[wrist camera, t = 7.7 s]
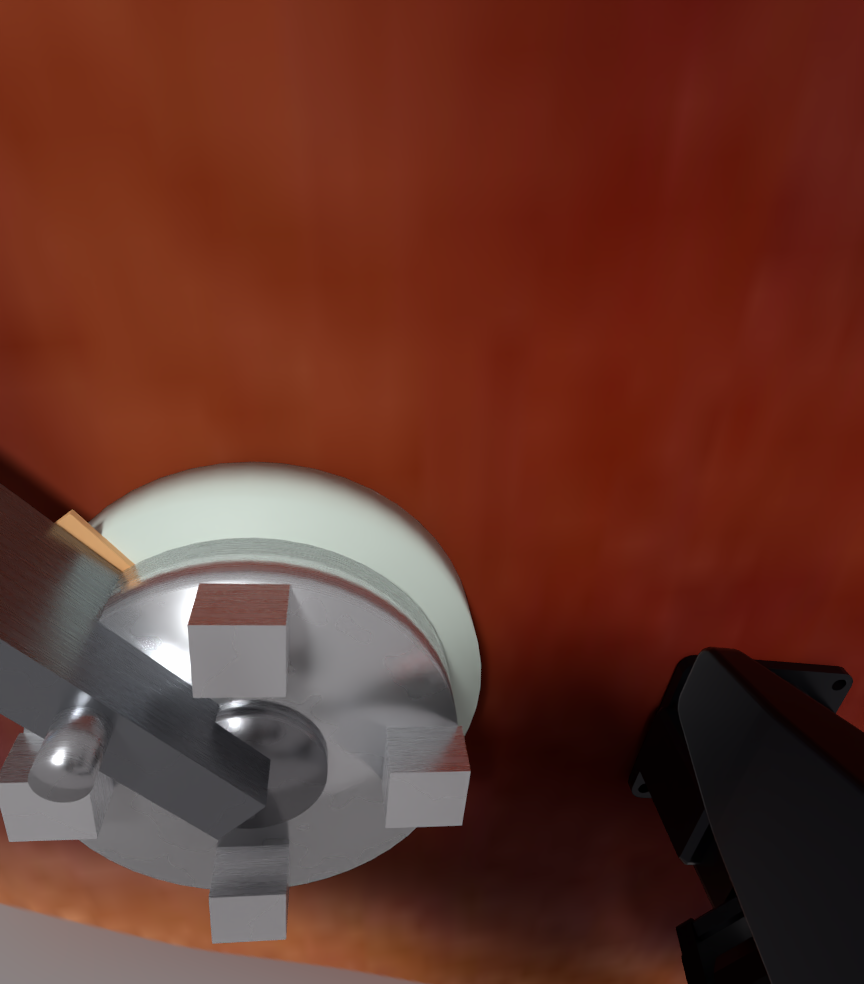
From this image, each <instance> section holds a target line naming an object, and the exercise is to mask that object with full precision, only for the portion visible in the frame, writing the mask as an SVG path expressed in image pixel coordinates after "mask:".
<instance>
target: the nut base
mask: <svg viewBox="0 0 864 984" xmlns="http://www.w3.org/2000/svg"><path fill="white" fill-rule="evenodd" d="M54 523H55V524H56V525H58V526H59V527H61V528H62V529H63V530H65V531H66V532H67V533H69V534H70V535H71V536H73V537H74V538H76V539H77V540H78V541H80V542H81V543H82V544H84V545H85V546H86V547H88V548H89V549H91V550H92V551H93V552H95V553H96V554H97V555H99V556H100V557H101V558H103V559H104V560H106V561H107V562H108V563H110V564H111V565H112V566H114V567H115V568H116V569H118V570H119V571H121V572H122V571H124V570H126V569H128V568H130V567H131V566H133V565H135V564H137V563H139V562H140V561H142V560H145V559H147V558H150V557H152V556H155V555H157V554H160V553H162V552H165V551H167V550H171V549H175V548H178V547H182V546H186V545H190V544H193V543H198V542H205V541H212V540H219V539H229V538H266V539H280V540H287V541H293V542H298V543H303V544H309V545H313V546H316V547H320V548H323V549H326V550H329V551H333V552H336V553H339V554H341V555H344V556H346V557H348V558H350V559H353V560H355V561H357V562H360V563H362V564H364V565H365V566H367V567H369V568H371V569H372V570H374V571H376V572H377V573H379V574H381V575H382V576H384V577H385V578H387V579H388V580H389V581H391V582H392V583H393V584H394V585H396V586H397V587H398V588H400V589H401V590H402V591H403V592H404V593H405V594H406V595H407V596H408V597H409V598H410V599H411V600H412V601H413V602H414V603H415V604H416V605H417V606H418V607H419V608H420V610H421V611H422V612H423V614H424V615H425V617H426V618H427V619H428V621H429V622H430V624H431V625H432V627H433V629H434V631H435V633H436V635H437V637H438V639H439V641H440V643H441V645H442V648H443V652H444V655H445V658H446V662H447V666H448V671H449V677H450V682H451V687H452V692H453V698H454V703H455V708H456V713H457V721H458V726H462V729H463V734H464V736H465V734H466V732H467V730H468V729H469V726H470V724H471V721H472V718H473V715H474V713H475V710H476V707H477V702H478V697H479V692H480V687H481V660H480V653H479V646H478V641H477V637H476V633H475V629H474V625H473V621H472V617H471V613H470V610H469V606H468V602H467V598H466V595H465V592H464V589H463V586H462V583H461V580H460V578H459V576H458V574H457V572H456V570H455V568H454V566H453V564H452V562H451V560H450V558H449V557H448V556H447V554H446V553H445V551H444V550H443V549H442V547H441V546H440V544H439V543H438V542H437V540H436V539H435V538H434V537H433V536H432V535H431V534H430V533H429V532H428V531H427V530H426V529H425V528H424V527H423V525H422V524H421V523H420V522H419V521H418V520H416V519H415V518H414V517H412V516H411V515H410V514H409V513H407V512H406V511H405V510H404V509H402V508H401V507H400V506H398V505H397V504H396V503H394V502H392V501H391V500H389V499H387V498H386V497H384V496H382V495H380V494H379V493H377V492H375V491H374V490H372V489H370V488H367V487H365V486H363V485H360V484H358V483H356V482H354V481H351V480H349V479H347V478H344V477H341V476H337V475H334V474H331V473H327V472H324V471H321V470H317V469H312V468H307V467H301V466H295V465H290V464H282V463H266V462H240V463H222V464H216V465H210V466H204V467H198V468H193V469H188V470H185V471H182V472H178V473H175V474H172V475H169V476H165V477H162V478H159V479H157V480H155V481H152V482H150V483H148V484H146V485H144V486H141V487H139V488H137V489H135V490H132V491H131V492H129V493H128V494H126V495H124V496H123V497H121V498H120V499H118V500H116V501H115V502H113V503H112V504H110V505H108V506H107V507H106V508H105V509H104V510H102V511H101V512H100V513H99V514H98V515H96V516H95V517H94V518H93V519H92V520H90V521H89V522H86V521H85V520H84V519H83V518H82V517H81V516H80V515H79V514H77V513H76V512H75V511H74V510H73V509H72V510H71V511H69V512H68V513H67V514H65V515H64V516H63V517H61V518H60V519H59V520H57V521H56V522H54Z"/></svg>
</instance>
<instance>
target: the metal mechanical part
mask: <svg viewBox="0 0 864 984" xmlns="http://www.w3.org/2000/svg"><path fill="white" fill-rule="evenodd" d="M0 714H2V715H4V716H5V717H7V718H9V719H11V720H12V721H14V722H16V723H17V724H19V725H21V726H23V727H24V733H19V735H18V737H17V739H16V741H15V743H14V745H13V746H12V748H11V750H10V752H9V754H8V756H7V758H6V760H5V762H4V764H3V766H2V768H1V770H0V808H1V812H2V816H3V820H4V823H5V827H6V831H7V835H8V839H9V842H17V841H45V840H73V839H79V840H80V841H81V842H83V843H84V844H85V845H87V846H88V847H89V848H90V849H92V850H94V851H96V852H97V853H99V854H101V855H102V856H104V857H106V858H107V859H109V860H111V861H113V862H115V863H117V864H119V865H122V866H124V867H126V868H128V869H130V870H132V871H135V872H138V873H141V874H144V875H147V876H150V877H152V878H155V879H159V880H163V881H167V882H171V883H175V884H179V885H185V886H191V887H197V888H204V889H210V894H209V907H210V920H211V933H212V943H230V942H248V941H266V940H283V939H286V933H287V917H288V901H289V887H290V886H296V885H302V884H306V883H310V882H314V881H318V880H322V879H326V878H329V877H332V876H334V875H337V874H340V873H343V872H346V871H349V870H351V869H353V868H355V867H357V866H360V865H362V864H364V863H366V862H368V861H370V860H372V859H374V858H376V857H377V856H379V855H381V854H382V853H384V852H386V851H388V850H389V849H391V848H392V847H393V846H395V845H396V844H397V843H399V842H400V841H402V840H403V839H404V838H406V837H407V836H408V835H409V834H410V833H411V832H412V831H413V830H414V829H416V828H417V827H434V826H462V822H463V816H464V810H465V804H466V797H467V791H468V785H469V779H470V773H471V770H470V765H469V759H468V754H467V749H466V744H465V739H464V734H463V729H462V726H458V721H457V713H456V708H455V703H454V698H453V692H452V687H451V682H450V677H449V671H448V666H447V662H446V658H445V655H444V652H443V648H442V645H441V643H440V641H439V639H438V637H437V635H436V633H435V631H434V629H433V627H432V625H431V624H430V622H429V621H428V619H427V618H426V617H425V615H424V614H423V612H422V611H421V610H420V608H419V607H418V606H417V605H416V604H415V603H414V602H413V601H412V600H411V599H410V598H409V597H408V596H407V595H406V594H405V593H404V592H403V591H402V590H401V589H400V588H398V587H397V586H396V585H394V584H393V583H392V582H391V581H389V580H388V579H387V578H385V577H384V576H382V575H381V574H379V573H377V572H376V571H374V570H372V569H371V568H369V567H367V566H365V565H364V564H362V563H360V562H357V561H355V560H353V559H350V558H348V557H346V556H344V555H341V554H339V553H336V552H333V551H329V550H326V549H323V548H320V547H316V546H313V545H309V544H303V543H298V542H293V541H287V540H280V539H266V538H229V539H219V540H212V541H205V542H198V543H193V544H190V545H186V546H182V547H178V548H175V549H171V550H167V551H165V552H162V553H160V554H157V555H155V556H152V557H150V558H147V559H145V560H142V561H140V562H139V563H137V564H135V565H133V566H131V567H130V568H128V569H126V570H124V571H122V572H121V571H119V570H118V569H116V568H115V567H114V566H112V565H111V564H110V563H108V562H107V561H106V560H104V559H103V558H101V557H100V556H99V555H97V554H96V553H95V552H93V551H92V550H91V549H89V548H88V547H86V546H85V545H84V544H82V543H81V542H80V541H78V540H77V539H76V538H74V537H73V536H71V535H70V534H69V533H67V532H66V531H65V530H63V529H62V528H61V527H59V526H58V525H56V524H55V523H54V522H52V521H51V520H50V519H48V518H47V517H46V516H44V515H43V514H41V513H40V512H39V511H37V510H36V509H35V508H33V507H32V506H31V505H29V504H28V503H26V502H25V501H24V500H22V499H21V498H20V497H18V496H17V495H16V494H14V493H13V492H11V491H10V490H9V489H7V488H6V487H5V486H3V485H2V484H1V483H0Z"/></svg>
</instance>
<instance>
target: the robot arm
mask: <svg viewBox="0 0 864 984" xmlns="http://www.w3.org/2000/svg"><path fill="white" fill-rule="evenodd" d="M852 683H853V679H852V677H851V676H850V675H849V674H848V673H847V672H846V670H845V669H844V668H842V667H839V666H828V665H815V664H802V663H789V662H777V661H764V660H753V659H752V658H750V657H749V656H747V655H746V654H744V653H743V652H741V651H739V650H736V649H730V648H717V647H708V648H705V649H703V650H702V651H701V652H700V653H699V655H692V656H689V657H686V658H684V659H683V660H682V661H681V662H680V663H679V665H678V666H677V669H676V671H675V673H674V676H673V678H672V680H671V683H670V685H669V687H668V689H667V692H666V694H665V696H664V699H663V701H662V703H661V706H660V708H659V710H658V712H657V713H656V715H655V718H654V720H653V722H652V725H651V727H650V729H649V731H648V734H647V736H646V738H645V741H644V743H643V745H642V748H641V750H640V752H639V755H638V757H637V759H636V763H635V765H634V768H633V770H632V772H631V775H630V777H629V780H628V784H629V786H630V788H631V791H632V793H633V795H635V796H636V797H641V798H652V799H653V802H654V804H655V806H656V808H657V811H658V813H659V815H660V817H661V820H662V822H663V824H664V826H665V829H666V831H667V833H668V835H669V837H670V840H671V842H672V844H673V846H674V849H675V851H676V853H677V855H678V857H679V858H680V859H681V861H682V862H683V863H684V864H686V865H694V868H695V870H696V872H697V874H698V876H699V878H700V881H701V883H702V885H703V887H704V889H705V891H706V894H707V896H708V898H709V900H710V902H711V904H712V907H713V909H712V910H710V911H709V912H707V913H705V914H704V915H702V916H700V917H699V918H697V919H695V920H694V919H692V918H690V919H688V920H687V921H685V922H683V923H682V924H680V925H678V926H677V927H676V931H677V935H678V939H679V943H680V947H681V951H682V962H683V966H684V971H685V975H686V979H687V983H688V984H864V732H862V731H861V730H859V729H858V728H856V727H855V726H853V725H852V724H850V723H849V722H847V721H846V720H844V719H843V718H841V717H840V716H838V715H837V714H835V713H836V712H837V710H838V708H839V707H840V705H841V703H842V701H843V700H844V698H845V696H846V695H847V693H848V691H849V689H850V688H851V686H852Z"/></svg>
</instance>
